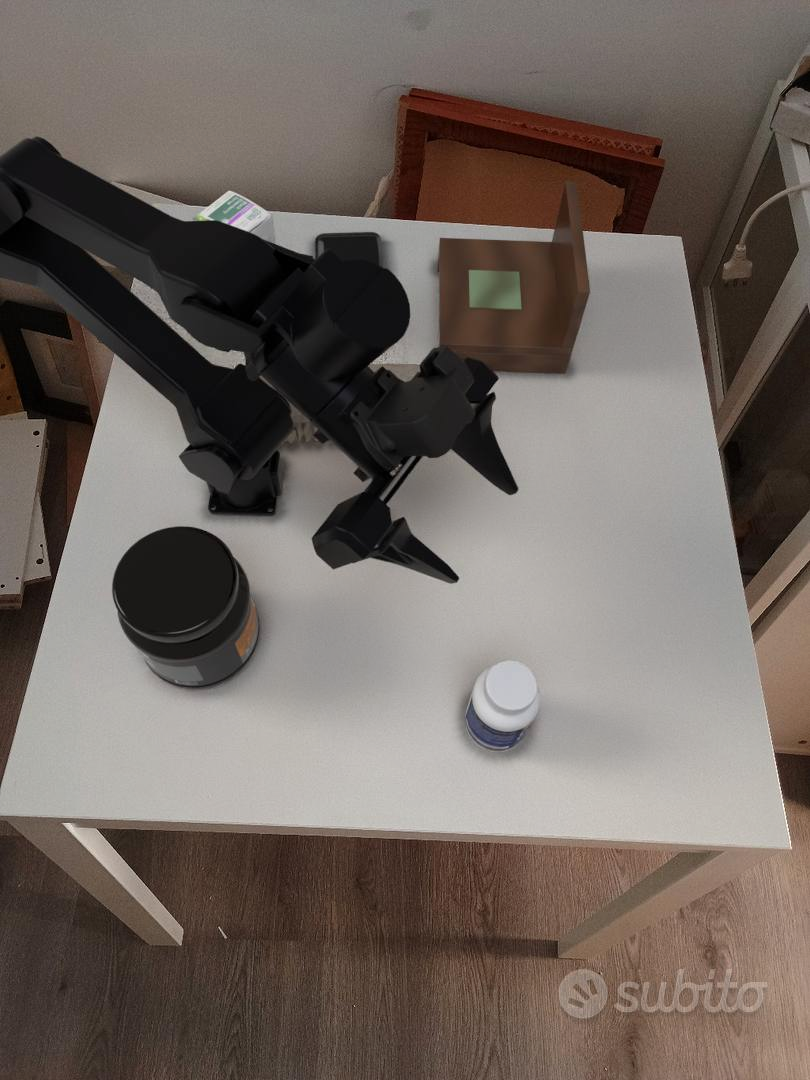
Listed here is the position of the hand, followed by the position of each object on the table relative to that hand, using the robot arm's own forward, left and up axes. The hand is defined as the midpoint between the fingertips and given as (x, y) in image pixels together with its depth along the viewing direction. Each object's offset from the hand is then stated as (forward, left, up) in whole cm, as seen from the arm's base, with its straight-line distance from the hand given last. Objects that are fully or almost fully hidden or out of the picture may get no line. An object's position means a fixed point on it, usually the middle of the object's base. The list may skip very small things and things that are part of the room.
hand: (486, 535), depth 63 cm
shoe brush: (-14, +22, -15) cm, 30 cm away
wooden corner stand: (+4, +37, -15) cm, 40 cm away
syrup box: (-24, +35, -15) cm, 45 cm away
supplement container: (-24, -3, -15) cm, 28 cm away
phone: (-13, +41, -15) cm, 45 cm away
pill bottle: (+2, -10, -15) cm, 18 cm away
